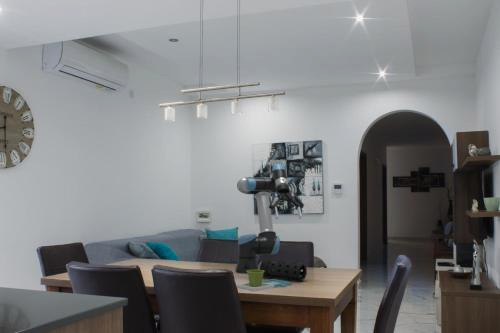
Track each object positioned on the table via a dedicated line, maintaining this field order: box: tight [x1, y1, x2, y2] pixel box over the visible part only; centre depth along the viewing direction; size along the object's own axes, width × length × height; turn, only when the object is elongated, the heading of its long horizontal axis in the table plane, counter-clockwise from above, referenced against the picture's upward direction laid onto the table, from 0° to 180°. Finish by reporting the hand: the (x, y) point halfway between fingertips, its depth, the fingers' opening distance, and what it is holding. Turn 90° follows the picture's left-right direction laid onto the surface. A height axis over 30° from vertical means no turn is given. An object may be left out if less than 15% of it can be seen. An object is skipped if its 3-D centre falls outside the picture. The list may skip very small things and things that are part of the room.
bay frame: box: [236, 278, 292, 292], centre depth 269 cm, size 18×27×2 cm
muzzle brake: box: [258, 259, 308, 282], centre depth 291 cm, size 10×28×10 cm, turn 55°
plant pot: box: [246, 270, 264, 287], centre depth 265 cm, size 9×9×9 cm
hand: (289, 217), depth 279 cm, fingers open, 13 cm apart
